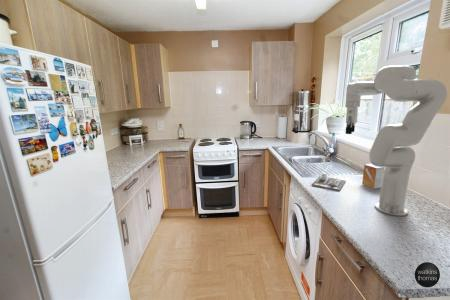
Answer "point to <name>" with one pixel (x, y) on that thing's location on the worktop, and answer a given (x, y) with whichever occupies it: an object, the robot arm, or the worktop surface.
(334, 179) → the switch
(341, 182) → the switch unit
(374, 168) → the small box
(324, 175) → the switch
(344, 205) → the worktop surface
